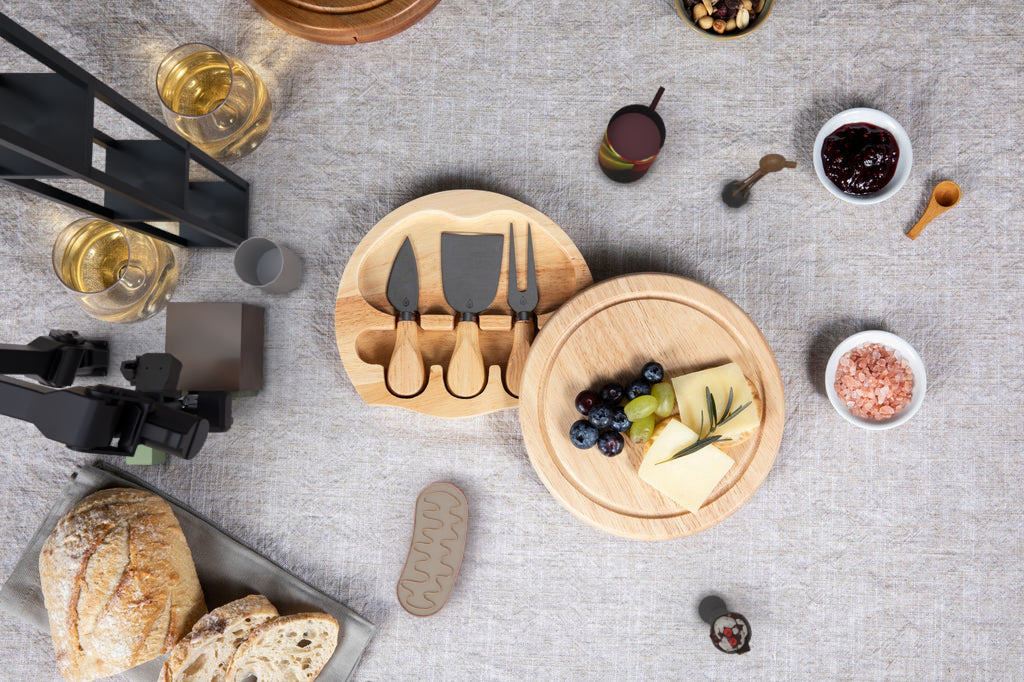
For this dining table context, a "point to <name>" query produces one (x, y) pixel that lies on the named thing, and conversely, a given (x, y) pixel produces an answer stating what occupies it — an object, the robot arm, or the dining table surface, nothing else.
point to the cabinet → (216, 344)
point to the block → (146, 456)
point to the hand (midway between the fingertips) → (193, 407)
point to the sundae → (725, 626)
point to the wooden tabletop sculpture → (753, 180)
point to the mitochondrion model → (433, 550)
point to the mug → (632, 141)
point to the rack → (110, 155)
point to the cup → (267, 265)
